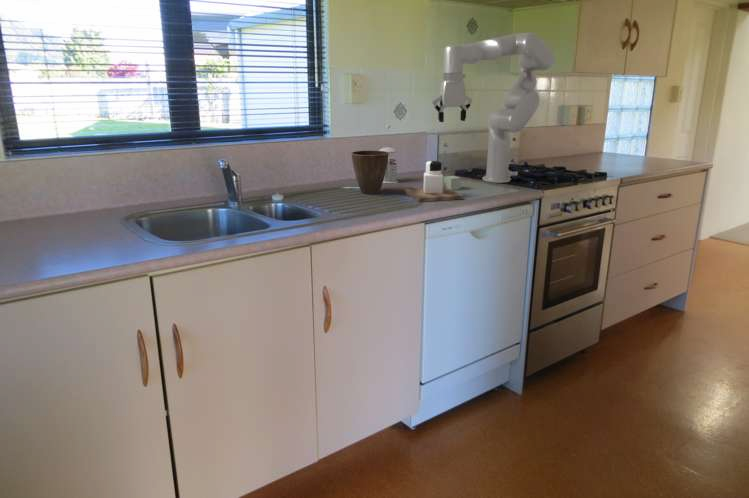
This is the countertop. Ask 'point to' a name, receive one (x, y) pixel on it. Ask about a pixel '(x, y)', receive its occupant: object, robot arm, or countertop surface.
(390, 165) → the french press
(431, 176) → the medicine bottle
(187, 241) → the countertop surface
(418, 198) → the walnut board
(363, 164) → the plant pot
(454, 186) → the sage block
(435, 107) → the robot arm
